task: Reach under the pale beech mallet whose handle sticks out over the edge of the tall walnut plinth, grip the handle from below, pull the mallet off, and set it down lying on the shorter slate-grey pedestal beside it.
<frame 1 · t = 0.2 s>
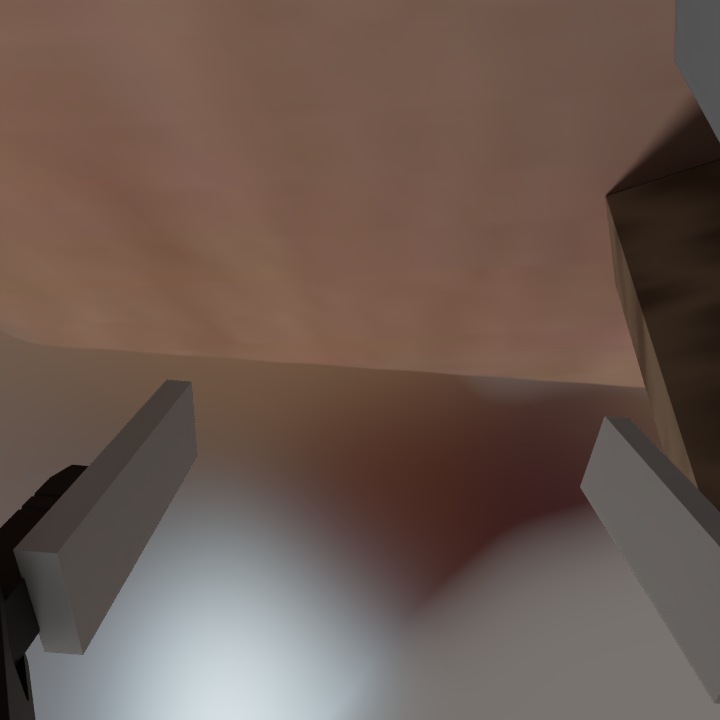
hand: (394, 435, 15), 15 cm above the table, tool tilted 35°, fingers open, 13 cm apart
walnut plinth: (713, 217, 25), on the table
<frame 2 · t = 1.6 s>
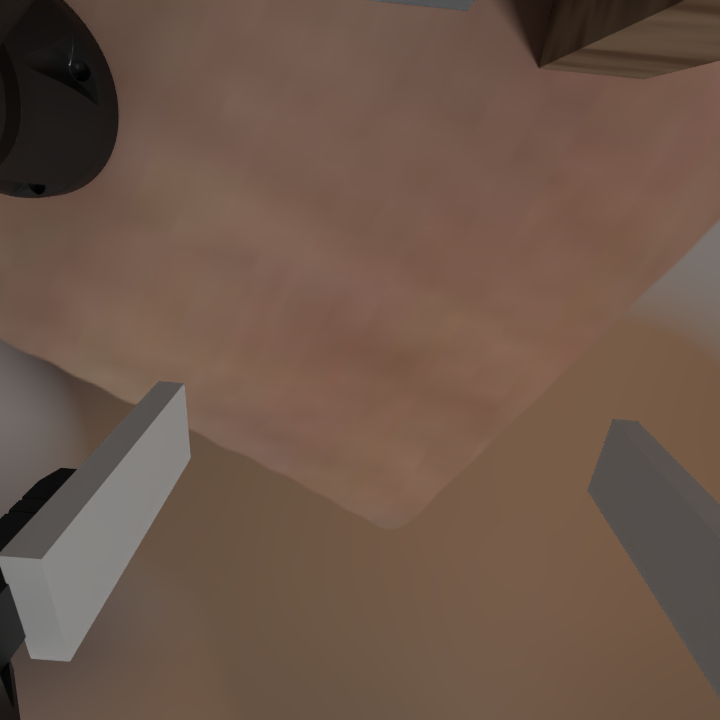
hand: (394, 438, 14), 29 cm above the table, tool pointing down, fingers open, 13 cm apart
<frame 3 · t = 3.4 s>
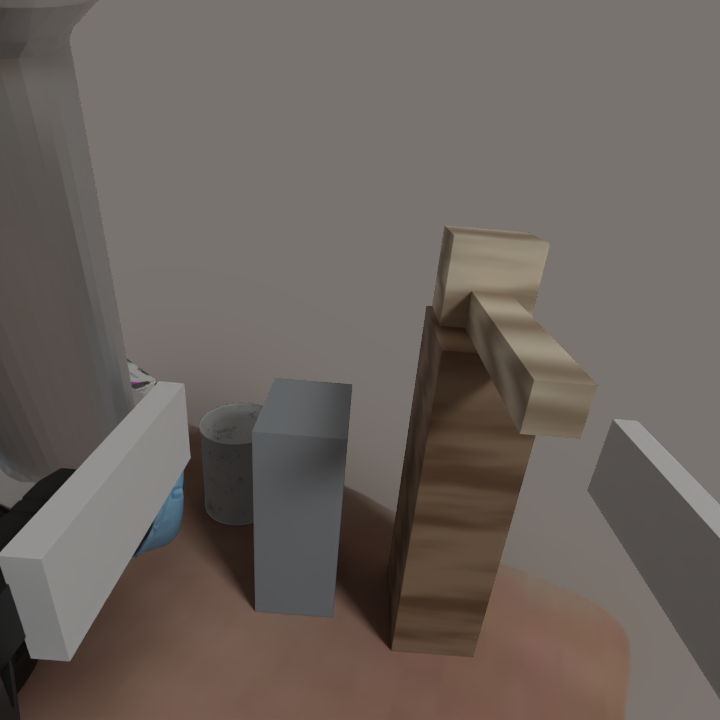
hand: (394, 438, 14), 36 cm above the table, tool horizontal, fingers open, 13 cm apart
grey pedestal: (300, 574, 52), on the table
concrete cylinder: (241, 500, 63), on the table
mallet: (499, 355, 32), point 32 cm above the table, touching walnut plinth
walnut plinth: (426, 607, 50), on the table
candy bar box: (133, 473, 66), on the table
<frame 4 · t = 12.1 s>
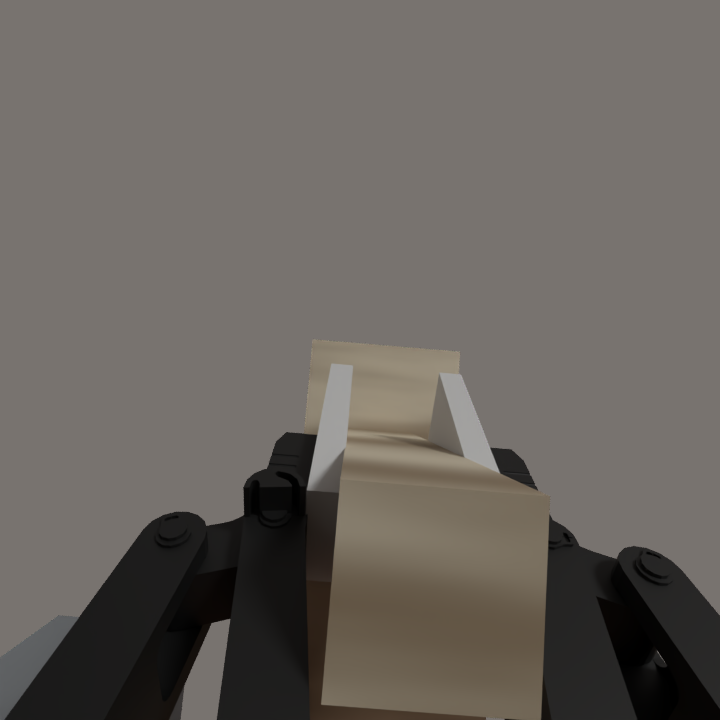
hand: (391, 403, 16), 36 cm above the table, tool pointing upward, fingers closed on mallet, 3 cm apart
mallet: (382, 524, 16), point 32 cm above the table, touching gripper, walnut plinth
when the fingers open (28 cm above the table, at t = 23.7 s): mallet drops 1 cm, resting on grey pedestal.
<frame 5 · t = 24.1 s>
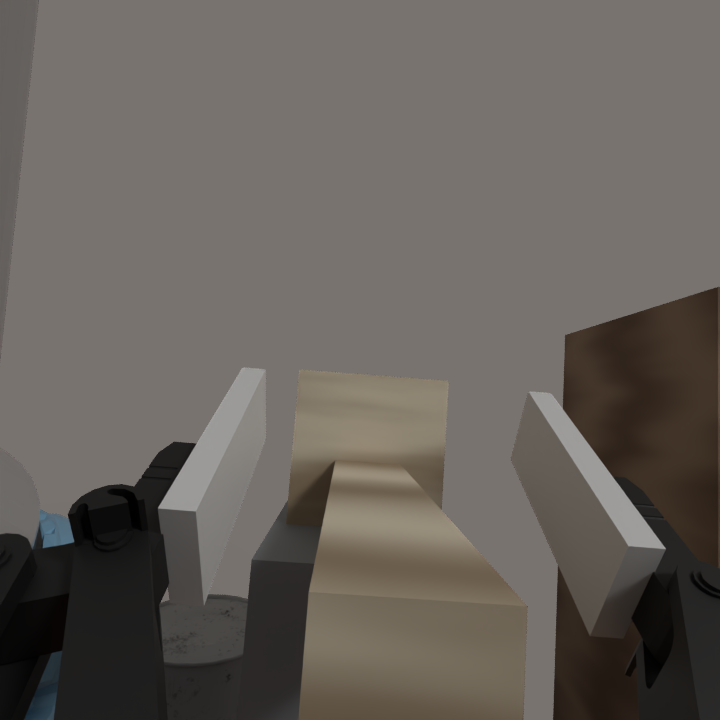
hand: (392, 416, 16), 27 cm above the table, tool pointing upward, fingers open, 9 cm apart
mallet: (368, 568, 16), point 22 cm above the table, touching grey pedestal
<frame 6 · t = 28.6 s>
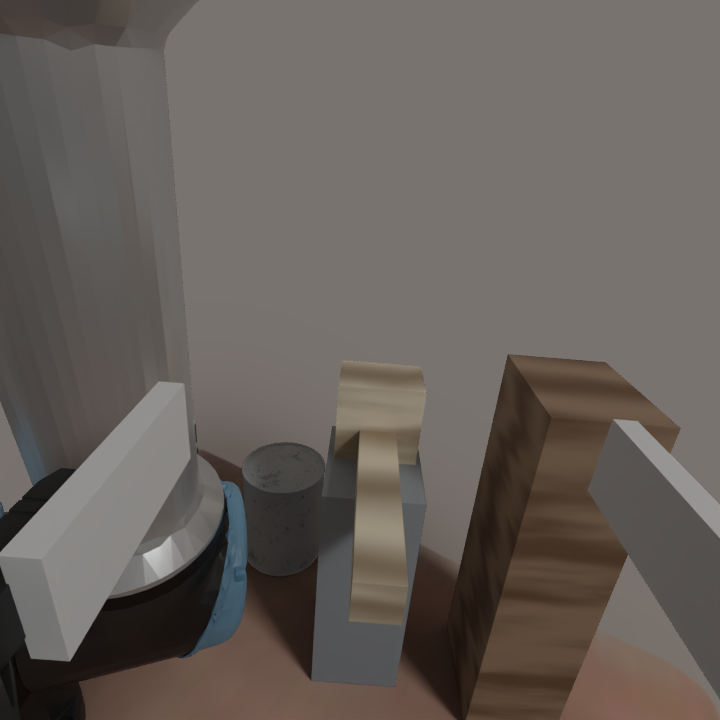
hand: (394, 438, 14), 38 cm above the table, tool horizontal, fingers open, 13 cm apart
grey pedestal: (355, 634, 48), on the table
concrete cylinder: (283, 546, 59), on the table
mallet: (374, 501, 35), point 22 cm above the table, touching grey pedestal
walnut plinth: (494, 673, 46), on the table
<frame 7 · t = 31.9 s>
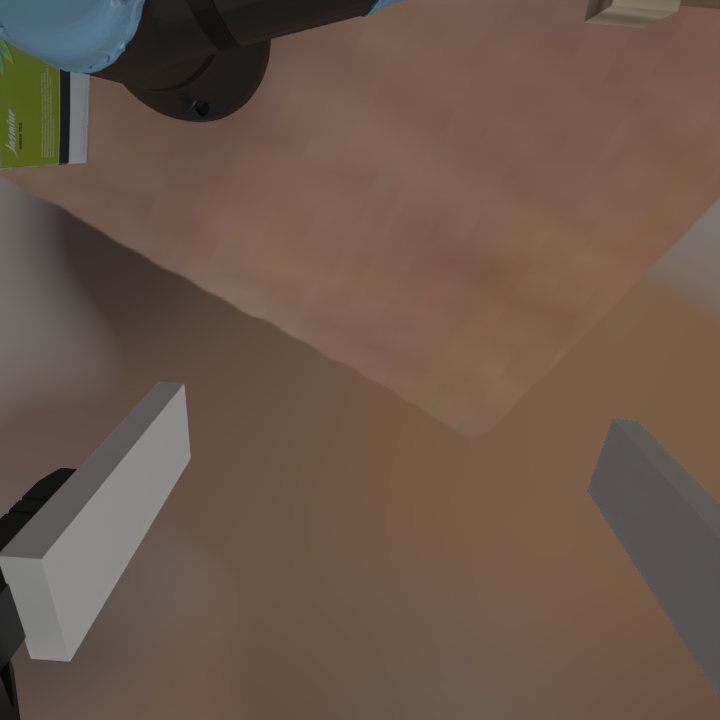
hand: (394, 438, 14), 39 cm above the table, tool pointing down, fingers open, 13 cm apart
tea box: (16, 89, 45), on the table
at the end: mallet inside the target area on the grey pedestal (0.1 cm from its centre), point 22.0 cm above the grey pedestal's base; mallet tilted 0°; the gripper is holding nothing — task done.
